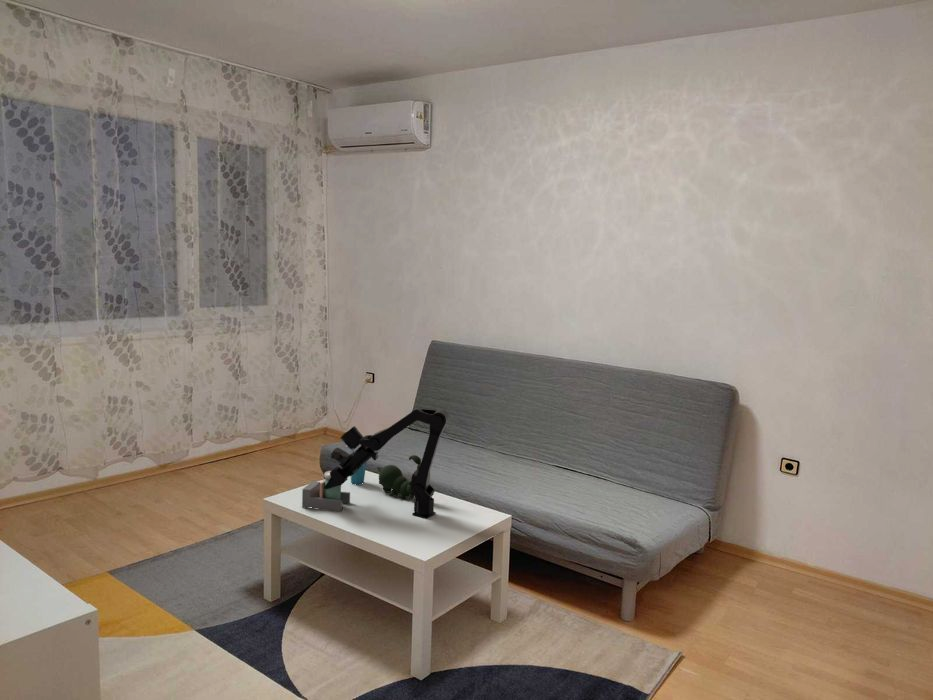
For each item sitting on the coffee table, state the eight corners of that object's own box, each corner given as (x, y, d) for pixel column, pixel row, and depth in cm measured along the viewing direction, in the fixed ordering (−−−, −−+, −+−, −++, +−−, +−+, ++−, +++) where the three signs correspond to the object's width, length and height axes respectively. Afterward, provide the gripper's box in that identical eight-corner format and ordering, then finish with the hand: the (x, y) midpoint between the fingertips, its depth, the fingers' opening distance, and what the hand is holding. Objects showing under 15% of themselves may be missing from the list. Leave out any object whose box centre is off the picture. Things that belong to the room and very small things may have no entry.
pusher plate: (328, 501, 257) (328, 478, 256) (321, 507, 250) (321, 483, 249) (326, 500, 257) (326, 477, 256) (319, 507, 250) (319, 483, 249)
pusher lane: (349, 502, 257) (350, 484, 257) (341, 511, 247) (341, 492, 247) (312, 499, 260) (312, 481, 259) (302, 507, 250) (302, 489, 249)
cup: (338, 480, 284) (339, 445, 283) (353, 477, 290) (354, 442, 288) (358, 488, 275) (359, 452, 273) (373, 484, 280) (374, 449, 279)
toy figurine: (429, 503, 266) (383, 483, 280) (434, 457, 262) (387, 440, 277) (413, 509, 258) (366, 489, 273) (418, 461, 255) (371, 444, 270)
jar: (344, 505, 254) (345, 472, 253) (333, 509, 249) (333, 476, 247) (331, 501, 257) (332, 469, 256) (320, 506, 252) (320, 473, 251)
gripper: (352, 436, 259) (324, 462, 262) (335, 448, 241) (305, 475, 244) (371, 457, 259) (343, 483, 262) (356, 471, 240) (326, 498, 243)
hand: (329, 484), depth 252 cm, fingers open, 9 cm apart
